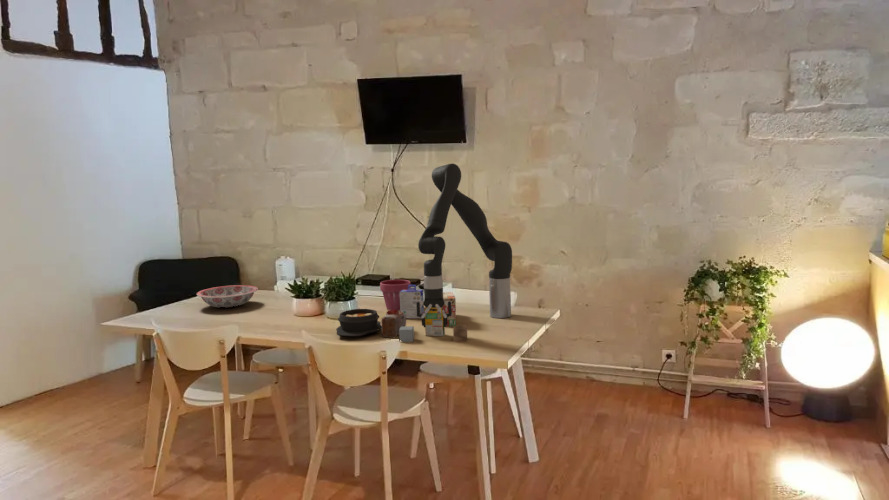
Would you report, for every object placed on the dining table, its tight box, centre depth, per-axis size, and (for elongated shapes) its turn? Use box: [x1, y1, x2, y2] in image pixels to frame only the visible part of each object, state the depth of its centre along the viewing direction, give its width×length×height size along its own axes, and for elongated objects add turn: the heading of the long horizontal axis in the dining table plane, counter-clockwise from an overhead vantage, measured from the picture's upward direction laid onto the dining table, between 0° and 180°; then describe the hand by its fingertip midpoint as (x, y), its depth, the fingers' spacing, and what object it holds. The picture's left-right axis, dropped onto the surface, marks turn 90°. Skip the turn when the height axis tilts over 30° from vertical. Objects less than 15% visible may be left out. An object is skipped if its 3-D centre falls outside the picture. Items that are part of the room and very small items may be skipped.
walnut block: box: [453, 325, 468, 342], centre depth 267 cm, size 5×5×5 cm
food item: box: [380, 309, 407, 338], centre depth 279 cm, size 14×8×10 cm, turn 170°
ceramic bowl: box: [196, 284, 259, 308], centre depth 342 cm, size 29×29×8 cm
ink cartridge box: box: [399, 284, 425, 319], centre depth 305 cm, size 10×6×14 cm, turn 78°
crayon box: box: [424, 306, 446, 337], centre depth 274 cm, size 7×3×12 cm, turn 78°
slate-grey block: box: [398, 326, 415, 343], centre depth 268 cm, size 5×5×5 cm
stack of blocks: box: [442, 291, 457, 327], centre depth 298 cm, size 21×6×12 cm, turn 4°
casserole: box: [335, 308, 382, 337], centre depth 283 cm, size 25×19×8 cm
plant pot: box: [379, 279, 412, 311], centre depth 324 cm, size 14×14×13 cm
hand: (434, 326), depth 274 cm, fingers closed on crayon box, 7 cm apart
